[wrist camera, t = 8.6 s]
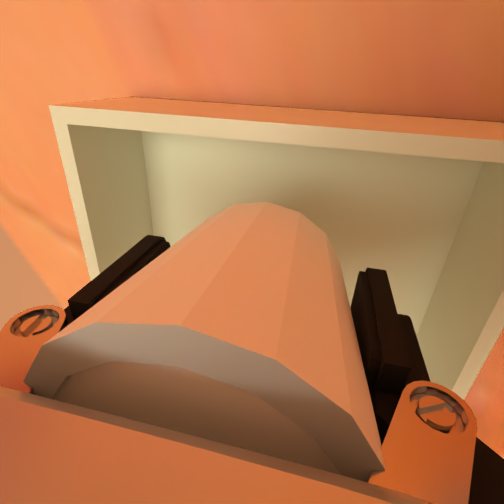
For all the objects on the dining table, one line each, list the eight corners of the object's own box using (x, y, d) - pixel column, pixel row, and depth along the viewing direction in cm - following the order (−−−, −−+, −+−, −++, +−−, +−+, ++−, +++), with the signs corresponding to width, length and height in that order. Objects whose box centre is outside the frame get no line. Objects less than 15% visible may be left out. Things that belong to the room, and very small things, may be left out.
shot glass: (254, 367, 14) (195, 580, 8) (140, 254, 13) (-35, 413, 7) (400, 297, 11) (480, 557, 5) (272, 135, 10) (168, 233, 4)
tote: (510, 122, 13) (603, 148, 9) (399, 396, 22) (416, 485, 17) (131, 96, 16) (48, 105, 12) (162, 345, 25) (121, 408, 20)
